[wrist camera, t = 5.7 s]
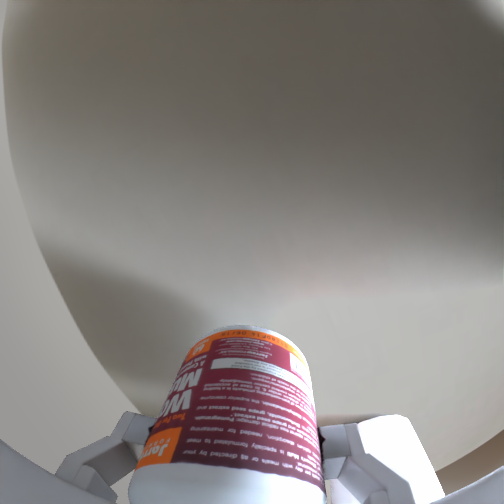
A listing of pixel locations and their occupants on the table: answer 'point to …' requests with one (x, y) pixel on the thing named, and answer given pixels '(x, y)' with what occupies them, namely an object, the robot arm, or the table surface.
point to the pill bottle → (235, 427)
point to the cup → (395, 458)
